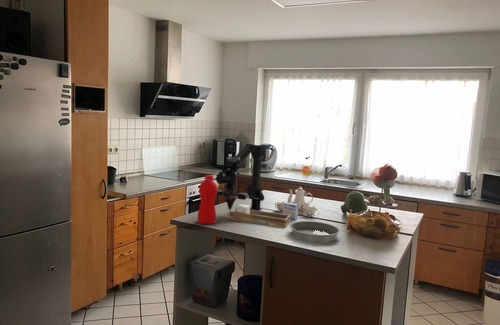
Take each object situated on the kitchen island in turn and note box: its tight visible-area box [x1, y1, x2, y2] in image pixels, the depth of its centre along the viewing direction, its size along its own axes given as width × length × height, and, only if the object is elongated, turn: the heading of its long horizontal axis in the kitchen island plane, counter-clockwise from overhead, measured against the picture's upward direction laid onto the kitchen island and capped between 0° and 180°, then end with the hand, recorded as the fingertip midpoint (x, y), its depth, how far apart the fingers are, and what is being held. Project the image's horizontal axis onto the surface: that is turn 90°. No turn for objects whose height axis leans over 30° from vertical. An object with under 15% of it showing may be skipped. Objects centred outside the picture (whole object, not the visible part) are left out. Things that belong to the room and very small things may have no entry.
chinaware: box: [274, 186, 320, 218], centre depth 237 cm, size 28×17×17 cm, turn 71°
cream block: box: [235, 203, 251, 214], centre depth 217 cm, size 6×6×5 cm
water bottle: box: [197, 174, 218, 225], centre depth 203 cm, size 9×11×25 cm
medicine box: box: [282, 202, 299, 221], centre depth 223 cm, size 8×4×9 cm, turn 62°
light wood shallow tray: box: [227, 210, 292, 229], centre depth 214 cm, size 14×32×4 cm, turn 72°
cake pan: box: [289, 220, 341, 243], centre depth 192 cm, size 25×25×4 cm
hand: (229, 209), depth 219 cm, fingers closed
